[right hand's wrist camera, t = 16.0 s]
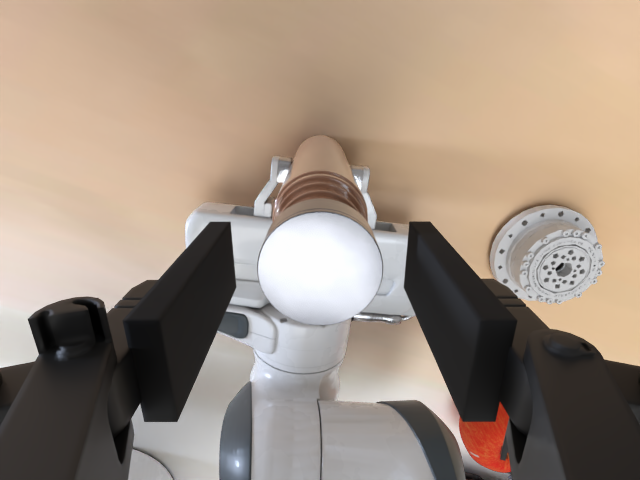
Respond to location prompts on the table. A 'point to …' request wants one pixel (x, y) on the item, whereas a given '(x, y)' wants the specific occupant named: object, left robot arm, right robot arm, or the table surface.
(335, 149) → the wooden furniture leg
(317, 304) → the cap
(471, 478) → the bread
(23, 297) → the table surface
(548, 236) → the mechanical component
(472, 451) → the apple
